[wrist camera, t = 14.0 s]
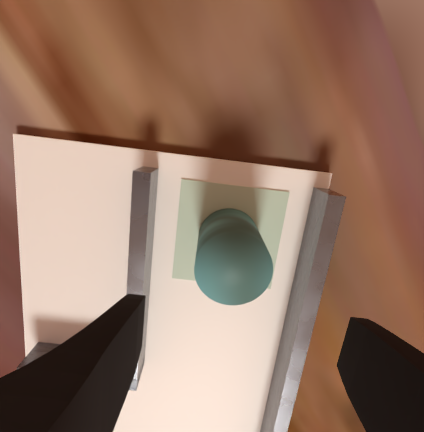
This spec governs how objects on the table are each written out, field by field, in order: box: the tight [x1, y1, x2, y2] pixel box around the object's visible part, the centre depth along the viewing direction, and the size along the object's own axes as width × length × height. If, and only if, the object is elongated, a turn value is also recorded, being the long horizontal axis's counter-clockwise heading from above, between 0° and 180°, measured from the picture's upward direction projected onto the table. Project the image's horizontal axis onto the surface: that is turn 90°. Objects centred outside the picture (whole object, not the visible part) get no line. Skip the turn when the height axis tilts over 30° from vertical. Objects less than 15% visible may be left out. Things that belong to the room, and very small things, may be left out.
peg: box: [194, 208, 273, 305], centre depth 17 cm, size 4×4×5 cm
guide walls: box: [17, 166, 346, 432], centre depth 21 cm, size 19×26×2 cm
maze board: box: [13, 134, 332, 432], centre depth 22 cm, size 20×28×1 cm
